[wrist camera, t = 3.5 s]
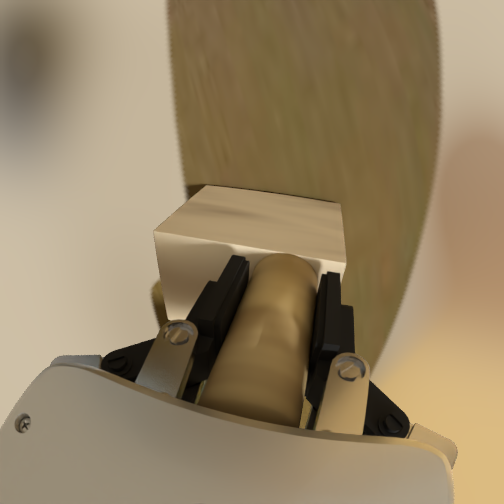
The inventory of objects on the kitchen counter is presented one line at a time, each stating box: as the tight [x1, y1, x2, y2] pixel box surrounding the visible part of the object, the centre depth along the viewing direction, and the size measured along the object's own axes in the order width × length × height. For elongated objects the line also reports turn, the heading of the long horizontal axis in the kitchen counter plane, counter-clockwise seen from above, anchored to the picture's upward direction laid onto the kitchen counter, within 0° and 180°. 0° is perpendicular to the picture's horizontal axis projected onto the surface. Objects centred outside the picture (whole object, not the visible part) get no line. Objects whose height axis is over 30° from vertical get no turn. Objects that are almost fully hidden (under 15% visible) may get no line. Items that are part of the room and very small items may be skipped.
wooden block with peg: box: [153, 185, 346, 428], centre depth 14 cm, size 6×9×14 cm, turn 87°
